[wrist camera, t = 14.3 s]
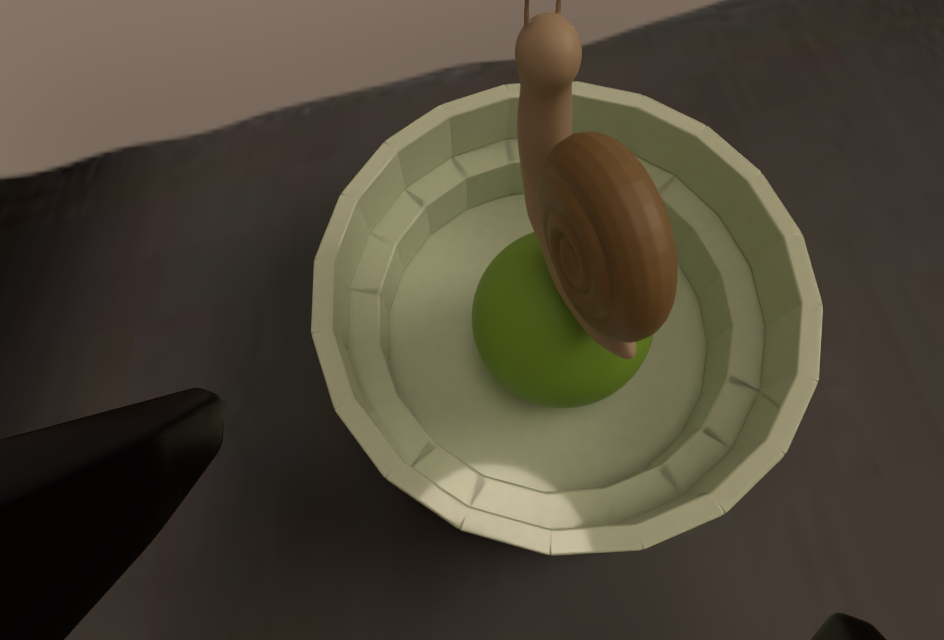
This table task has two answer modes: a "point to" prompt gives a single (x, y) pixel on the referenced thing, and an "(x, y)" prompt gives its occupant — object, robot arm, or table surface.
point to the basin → (581, 428)
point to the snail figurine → (573, 246)
